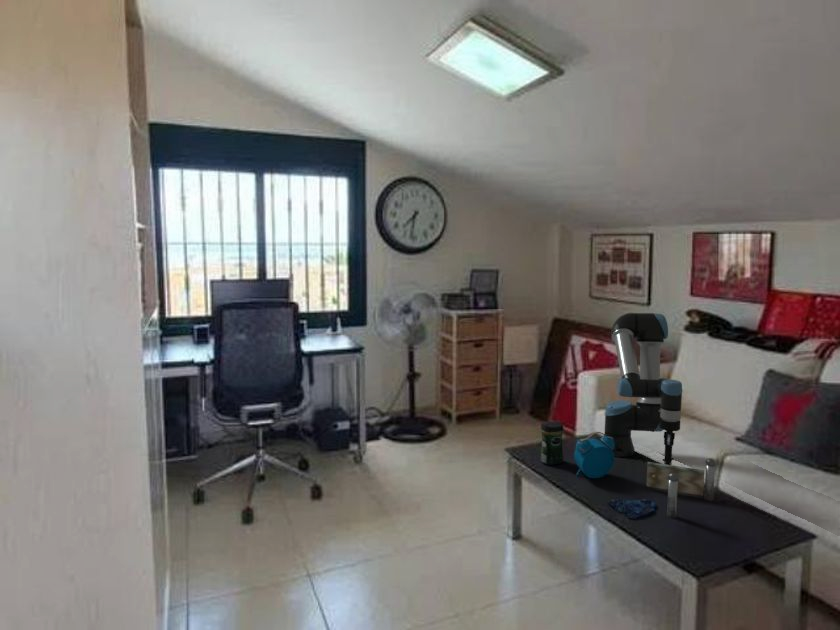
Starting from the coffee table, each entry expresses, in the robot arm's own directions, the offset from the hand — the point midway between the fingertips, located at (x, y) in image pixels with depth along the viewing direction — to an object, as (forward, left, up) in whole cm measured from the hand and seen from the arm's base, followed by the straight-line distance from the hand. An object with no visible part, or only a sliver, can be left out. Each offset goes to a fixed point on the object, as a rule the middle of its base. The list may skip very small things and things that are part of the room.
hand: (667, 476), depth 232 cm
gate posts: (+11, +17, -3) cm, 21 cm away
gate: (+6, +7, -2) cm, 9 cm away
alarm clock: (+18, -22, -4) cm, 29 cm away
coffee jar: (+20, -43, -4) cm, 48 cm away
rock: (+28, +5, -4) cm, 29 cm away
